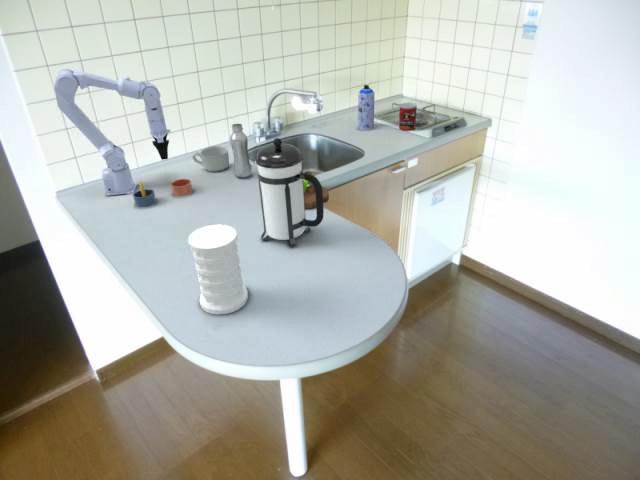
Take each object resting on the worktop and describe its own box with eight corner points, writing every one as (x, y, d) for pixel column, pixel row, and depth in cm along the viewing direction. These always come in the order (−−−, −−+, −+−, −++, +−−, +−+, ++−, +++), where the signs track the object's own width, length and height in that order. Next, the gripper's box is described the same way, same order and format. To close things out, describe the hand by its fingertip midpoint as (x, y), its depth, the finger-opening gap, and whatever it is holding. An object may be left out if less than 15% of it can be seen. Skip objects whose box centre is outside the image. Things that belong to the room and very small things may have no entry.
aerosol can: (355, 126, 226) (355, 84, 215) (370, 124, 227) (371, 82, 217) (361, 131, 219) (361, 88, 209) (376, 129, 221) (377, 86, 211)
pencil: (143, 203, 161) (138, 182, 157) (144, 201, 162) (138, 180, 158) (147, 203, 161) (142, 181, 157) (148, 201, 162) (142, 180, 158)
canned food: (397, 130, 218) (398, 107, 213) (400, 125, 225) (401, 102, 219) (414, 131, 216) (415, 107, 211) (416, 126, 223) (417, 103, 217)
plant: (262, 192, 166) (259, 162, 160) (314, 182, 172) (312, 153, 166) (278, 216, 150) (275, 184, 144) (334, 204, 156) (333, 173, 150)
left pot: (134, 209, 158) (131, 198, 156) (137, 200, 164) (134, 190, 162) (155, 207, 159) (152, 196, 157) (158, 198, 165) (155, 188, 163)
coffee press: (266, 254, 131) (254, 152, 115) (257, 227, 144) (245, 133, 128) (325, 243, 134) (321, 143, 119) (311, 218, 148) (306, 125, 132)
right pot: (172, 198, 165) (169, 187, 163) (174, 190, 171) (172, 179, 169) (192, 196, 166) (190, 185, 164) (193, 188, 172) (191, 178, 170)
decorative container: (250, 283, 119) (241, 222, 110) (245, 313, 109) (235, 248, 100) (204, 286, 119) (192, 224, 110) (196, 315, 109) (181, 251, 100)
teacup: (233, 164, 190) (231, 145, 186) (226, 174, 181) (223, 155, 177) (200, 164, 192) (197, 145, 188) (192, 174, 183) (188, 155, 178)
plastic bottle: (249, 179, 176) (242, 128, 166) (232, 179, 177) (224, 127, 167) (254, 173, 181) (248, 122, 171) (238, 172, 183) (231, 122, 172)
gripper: (168, 123, 161) (176, 160, 168) (166, 112, 172) (174, 147, 179) (147, 126, 159) (156, 163, 166) (146, 115, 171) (155, 150, 178)
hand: (164, 155), depth 172 cm, fingers open, 7 cm apart
